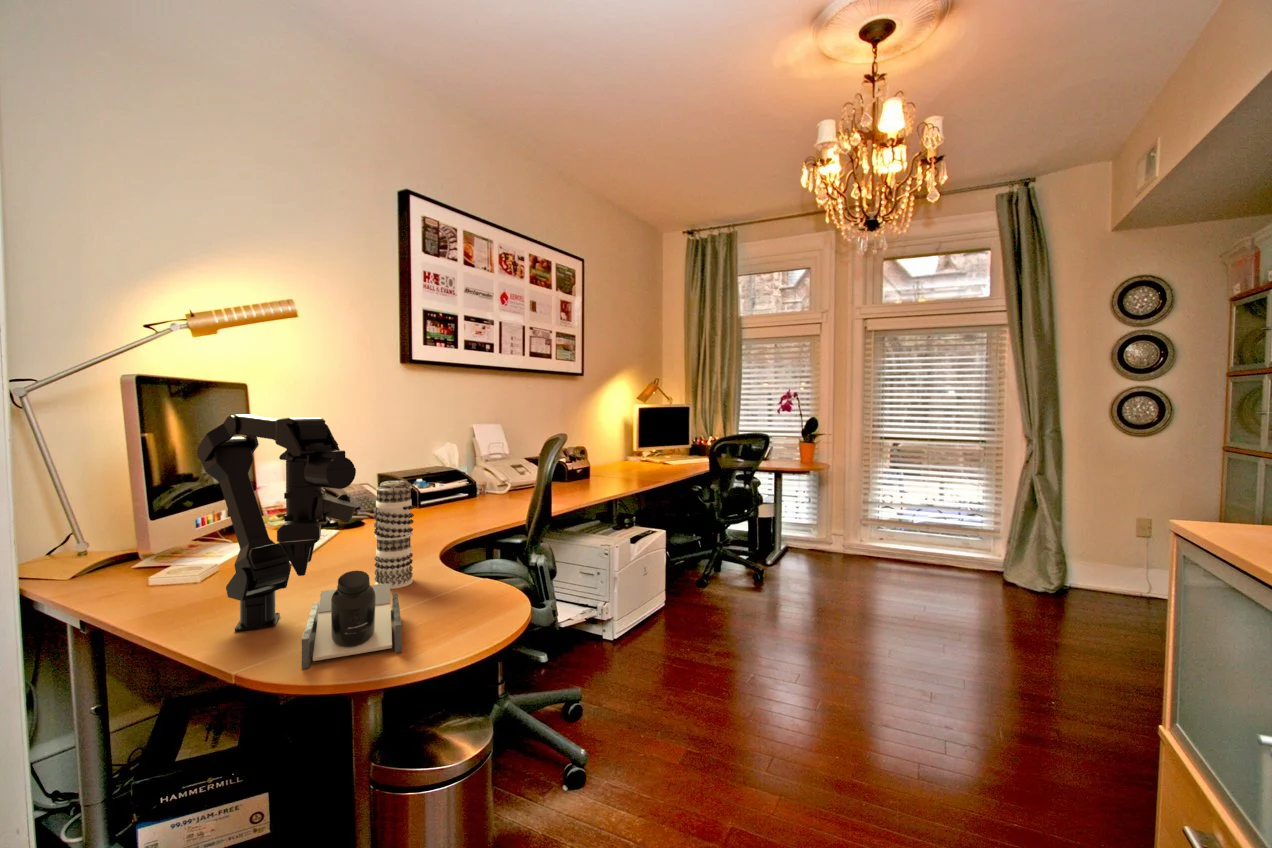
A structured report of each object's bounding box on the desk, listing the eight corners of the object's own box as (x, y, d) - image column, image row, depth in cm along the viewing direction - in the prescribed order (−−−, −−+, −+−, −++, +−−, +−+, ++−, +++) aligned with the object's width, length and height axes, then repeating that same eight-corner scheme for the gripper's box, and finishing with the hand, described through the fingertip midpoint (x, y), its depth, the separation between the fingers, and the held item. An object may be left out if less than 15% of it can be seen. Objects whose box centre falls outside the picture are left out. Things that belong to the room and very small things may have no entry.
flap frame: (313, 628, 104) (313, 603, 104) (397, 616, 111) (397, 592, 110) (301, 669, 88) (301, 639, 88) (401, 652, 94) (401, 624, 94)
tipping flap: (321, 603, 104) (321, 591, 103) (389, 595, 109) (389, 583, 108) (313, 670, 90) (312, 657, 89) (391, 657, 95) (391, 644, 94)
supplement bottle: (354, 654, 91) (354, 597, 87) (322, 640, 93) (319, 583, 88) (383, 628, 97) (384, 574, 93) (352, 616, 99) (352, 561, 95)
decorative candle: (405, 574, 138) (405, 478, 137) (420, 583, 131) (420, 482, 131) (367, 582, 131) (367, 481, 131) (381, 592, 125) (381, 485, 124)
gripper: (351, 489, 94) (351, 577, 95) (355, 477, 111) (355, 551, 112) (276, 493, 89) (276, 585, 90) (291, 479, 106) (292, 557, 107)
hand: (304, 568), depth 100 cm, fingers open, 9 cm apart
